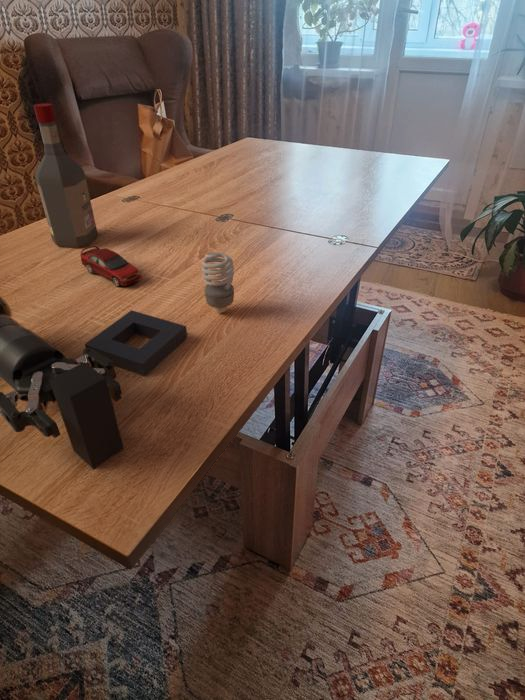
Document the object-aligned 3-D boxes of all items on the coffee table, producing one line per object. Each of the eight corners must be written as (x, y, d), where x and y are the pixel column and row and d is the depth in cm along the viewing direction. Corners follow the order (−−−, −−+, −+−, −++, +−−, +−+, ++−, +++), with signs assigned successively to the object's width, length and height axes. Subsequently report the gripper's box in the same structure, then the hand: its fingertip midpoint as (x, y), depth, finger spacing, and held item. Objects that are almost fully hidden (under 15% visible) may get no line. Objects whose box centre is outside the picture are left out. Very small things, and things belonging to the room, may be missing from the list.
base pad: (145, 376, 75) (142, 363, 73) (87, 356, 79) (84, 344, 78) (187, 337, 83) (186, 325, 82) (133, 321, 88) (131, 310, 86)
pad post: (93, 469, 60) (70, 397, 53) (73, 451, 63) (49, 379, 56) (124, 448, 63) (105, 377, 56) (104, 431, 65) (84, 361, 58)
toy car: (103, 261, 108) (99, 240, 105) (143, 282, 100) (139, 260, 97) (81, 269, 105) (76, 248, 102) (120, 292, 97) (116, 269, 94)
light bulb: (200, 316, 89) (194, 257, 82) (214, 302, 93) (209, 244, 86) (227, 323, 87) (224, 262, 80) (240, 308, 91) (238, 249, 84)
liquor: (101, 234, 121) (73, 101, 103) (86, 249, 114) (53, 109, 96) (67, 232, 122) (33, 100, 104) (49, 247, 114) (10, 108, 97)
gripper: (-39, 361, 61) (23, 421, 52) (64, 316, 69) (132, 360, 60) (-18, 405, 65) (42, 467, 56) (76, 357, 74) (141, 405, 65)
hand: (88, 412), depth 58 cm, fingers open, 8 cm apart
